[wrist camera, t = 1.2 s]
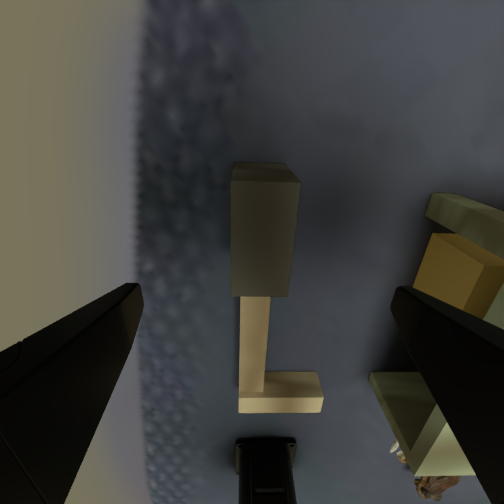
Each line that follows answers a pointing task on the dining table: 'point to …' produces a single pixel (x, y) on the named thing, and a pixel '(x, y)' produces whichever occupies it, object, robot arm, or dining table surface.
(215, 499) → the dining table surface
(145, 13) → the dining table surface
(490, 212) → the sage cubby
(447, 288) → the ochre cube
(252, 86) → the dining table surface
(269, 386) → the crook tool
